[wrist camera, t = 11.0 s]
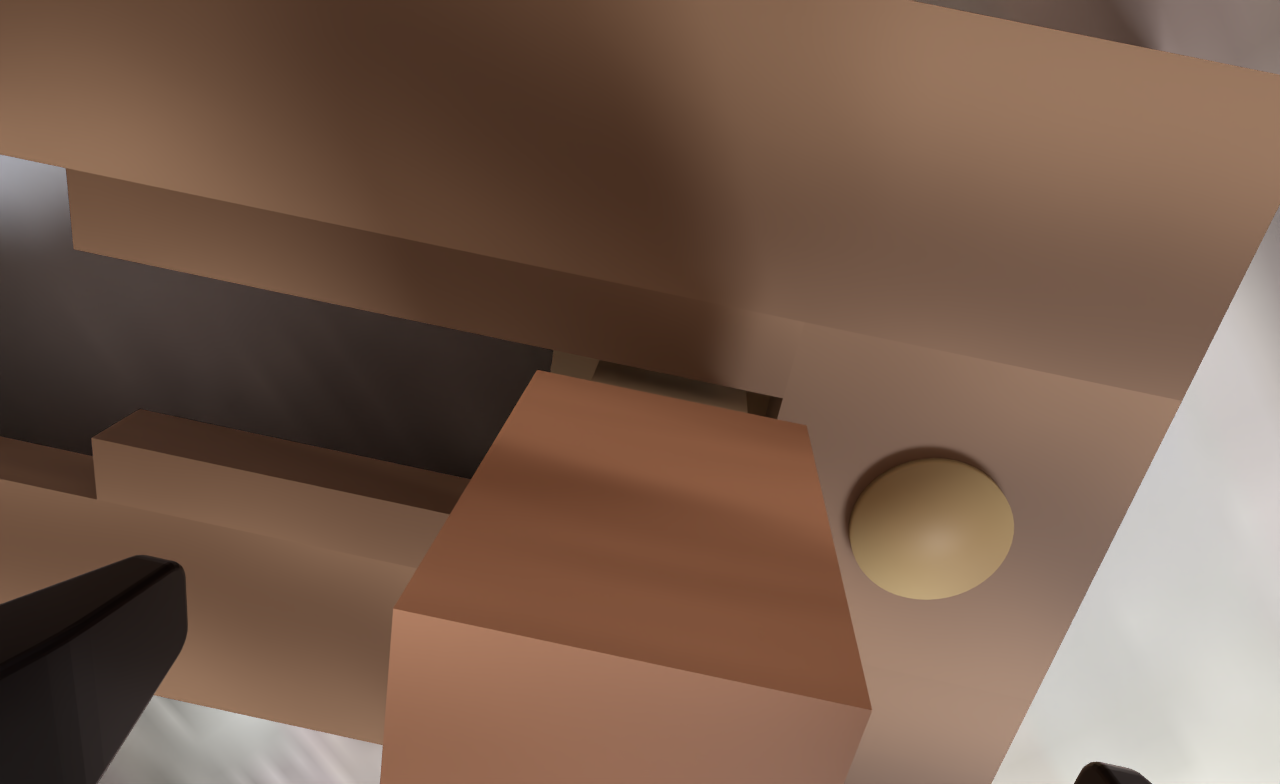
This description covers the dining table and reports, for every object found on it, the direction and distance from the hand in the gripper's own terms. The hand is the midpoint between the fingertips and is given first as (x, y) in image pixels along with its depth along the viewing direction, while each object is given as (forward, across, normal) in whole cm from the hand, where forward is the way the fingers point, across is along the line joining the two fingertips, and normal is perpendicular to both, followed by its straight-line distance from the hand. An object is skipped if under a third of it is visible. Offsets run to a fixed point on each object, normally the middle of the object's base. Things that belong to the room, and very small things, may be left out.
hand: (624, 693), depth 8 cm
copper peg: (+9, 0, 0) cm, 9 cm away
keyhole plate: (+9, +6, 0) cm, 11 cm away
